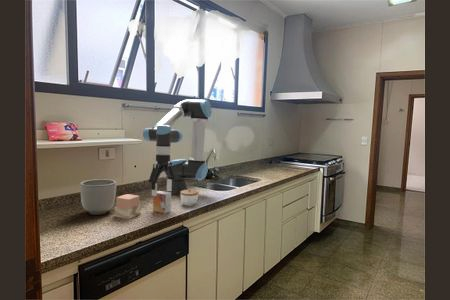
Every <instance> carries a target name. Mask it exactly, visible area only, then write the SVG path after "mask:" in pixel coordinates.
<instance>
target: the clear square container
mask: <svg viewBox="0 0 450 300" xmlns="http://www.w3.org/2000/svg"><path fill="white" fill-rule="evenodd" d="M141 206H142V205H141V204H139V206H136V207H134V208H131V209H124V208H119V207H116V206H114V217H117V218H122V219H127V220H131V219H132V218H135V217H137V216H140V215H142V214H141V213H142V210H141V209H142V207H141Z"/></svg>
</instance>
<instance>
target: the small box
mask: <svg viewBox="0 0 450 300" xmlns="http://www.w3.org/2000/svg"><path fill="white" fill-rule="evenodd" d="M152 203H153V205H152V212H156V213H160V214H167V213H169V212H171V210H172V209H171V208H172V194H171V192H167V191H164V190H163V191H162V190H157V196H153V202H152Z"/></svg>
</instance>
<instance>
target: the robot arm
mask: <svg viewBox="0 0 450 300" xmlns="http://www.w3.org/2000/svg"><path fill="white" fill-rule="evenodd" d="M187 117H189V118H190V120H191V122H192V127H191V128H192V130H191V145H190V156H189V158H188V159H187V158H180V159H179V158H178V159H173V160H171V155H170V154H171V144H173V143H174V144H176V143H179V142H181V141H182V140H183V133H182V131H181V130H180V129H175V128H174V129H172V127H173V126H174V125H175V124H176V123H177V122H178V121H179V120H182V119H183V118H187ZM210 117H212V105H211V103H210V101H209V100H207V99H184V100H182V101H181V100H180V101H179V102H178V103H176V104H174V105H173V106H172V107H171V110H170V111H169V112H168V113H167V114H166V115H165V116H163V117H162V118H161V119H160V120H159V121H158V122H157V123H156V124H155V125H153V126H152V127H146V128H144V130H143V131H142V136H143V137H142V138H143V139H144V140H145V141H147V142H156V143H155V144H156V145H155V146H156V147H155V154H156V155H155V161H156V162H157V163H153V165H152V170H151V172H150V173H151V174H150V177H149V179H148V183H150V184H151V196H157V191H158V183H157V182H158V179H159V178H160V176H161V174H163V172H164V173H165V176H166V177H167V179H166V192H171V195H177V196H178V195H180V192H181V191H182V190H189V186H188V184H187V179H188V180H189V179H191V180H196V181H200V180H201V181H202V180H204V179H206V176H207V173H208V170H209V165H208V163H207V162H206V159H205V158H204V151H205V150H204V148H205V135H206V134H205V133H206V123H207V122H208V121H209V120H208V119H209V118H210Z"/></svg>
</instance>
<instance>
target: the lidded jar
mask: <svg viewBox="0 0 450 300" xmlns="http://www.w3.org/2000/svg"><path fill="white" fill-rule="evenodd" d="M198 199H199V191H198V190H196V189H191V188H188V190H182V191H181V192H180V202H181V203H182V204H183V205H184V206H187V207H188V206H189V207H190V206H191V207H192V206H194V205H195V204H196V203H197V202H198Z"/></svg>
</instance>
